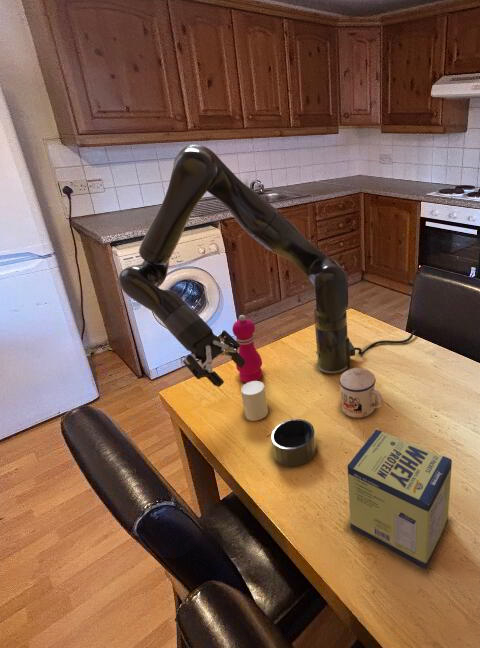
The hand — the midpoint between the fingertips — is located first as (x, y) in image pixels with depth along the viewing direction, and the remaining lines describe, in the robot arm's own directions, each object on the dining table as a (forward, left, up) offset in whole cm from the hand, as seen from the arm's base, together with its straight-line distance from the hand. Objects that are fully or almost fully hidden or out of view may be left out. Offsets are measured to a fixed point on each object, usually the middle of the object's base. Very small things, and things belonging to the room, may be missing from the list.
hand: (232, 375), depth 104 cm
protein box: (-26, +45, -11) cm, 53 cm away
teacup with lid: (-30, +12, -11) cm, 34 cm away
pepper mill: (-4, -13, -11) cm, 18 cm away
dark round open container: (-11, +20, -10) cm, 25 cm away
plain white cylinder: (-4, +4, -10) cm, 12 cm away
